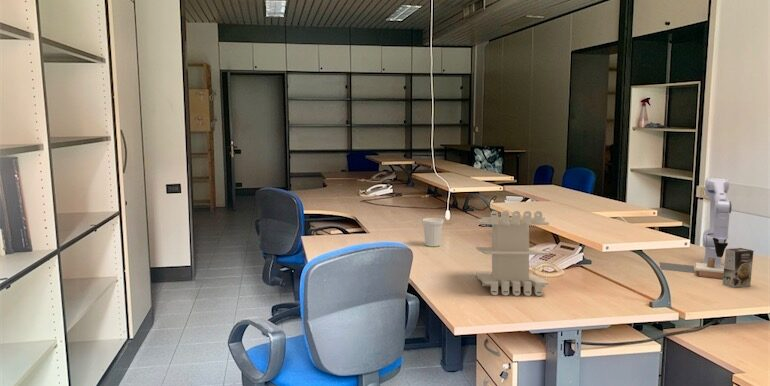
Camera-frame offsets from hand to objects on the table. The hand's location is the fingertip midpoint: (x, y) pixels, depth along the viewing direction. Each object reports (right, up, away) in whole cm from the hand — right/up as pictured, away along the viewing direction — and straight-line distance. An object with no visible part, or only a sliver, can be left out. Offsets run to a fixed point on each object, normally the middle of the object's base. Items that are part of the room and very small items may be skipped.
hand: (718, 255), depth 259 cm
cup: (-129, -2, +63) cm, 143 cm away
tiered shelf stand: (-101, -12, -13) cm, 103 cm away
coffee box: (-2, -12, -15) cm, 19 cm away
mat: (-13, -8, +13) cm, 20 cm away
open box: (-4, -10, -1) cm, 11 cm away
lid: (-5, -6, -1) cm, 8 cm away
